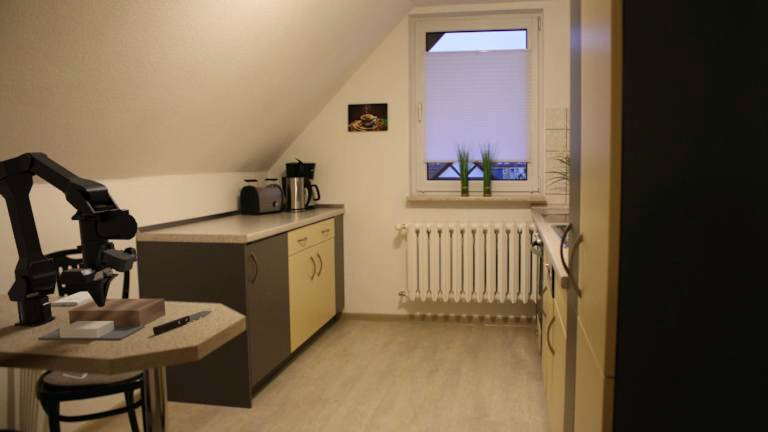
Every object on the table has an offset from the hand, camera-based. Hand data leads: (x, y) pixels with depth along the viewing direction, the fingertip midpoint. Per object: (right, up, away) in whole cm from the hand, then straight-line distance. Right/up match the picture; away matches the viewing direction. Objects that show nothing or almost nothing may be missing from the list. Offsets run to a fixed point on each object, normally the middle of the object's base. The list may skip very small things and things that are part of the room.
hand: (101, 306), depth 142 cm
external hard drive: (-21, -4, +32) cm, 38 cm away
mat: (0, -5, -3) cm, 6 cm away
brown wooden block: (+1, -4, +6) cm, 8 cm away
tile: (-1, -3, -5) cm, 6 cm away
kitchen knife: (+19, -4, +1) cm, 19 cm away
